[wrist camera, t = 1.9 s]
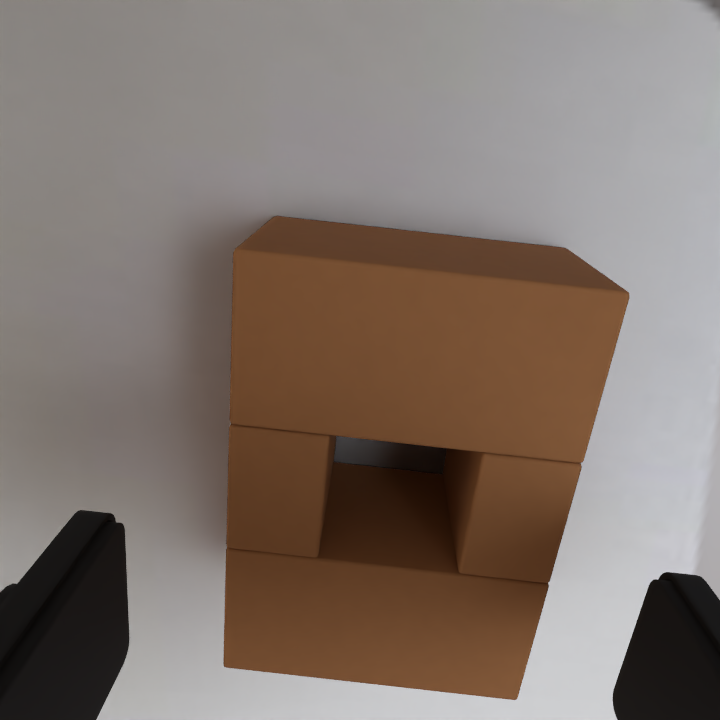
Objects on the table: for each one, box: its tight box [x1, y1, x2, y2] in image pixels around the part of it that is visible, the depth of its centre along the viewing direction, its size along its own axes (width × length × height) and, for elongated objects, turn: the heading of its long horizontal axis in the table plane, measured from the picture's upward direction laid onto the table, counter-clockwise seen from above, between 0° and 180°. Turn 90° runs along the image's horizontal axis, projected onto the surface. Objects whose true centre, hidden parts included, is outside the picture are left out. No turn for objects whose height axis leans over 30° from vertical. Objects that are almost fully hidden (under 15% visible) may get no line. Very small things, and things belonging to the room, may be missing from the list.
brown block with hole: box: [224, 216, 629, 700], centre depth 14 cm, size 10×7×4 cm
